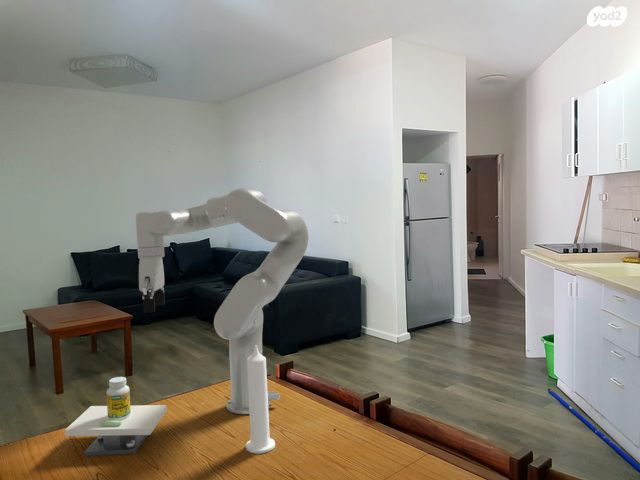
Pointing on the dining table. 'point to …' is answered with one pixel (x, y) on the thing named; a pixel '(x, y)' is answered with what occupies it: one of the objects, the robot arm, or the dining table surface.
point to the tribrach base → (115, 445)
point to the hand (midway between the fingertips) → (154, 308)
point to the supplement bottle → (118, 399)
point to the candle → (258, 405)
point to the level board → (117, 421)
